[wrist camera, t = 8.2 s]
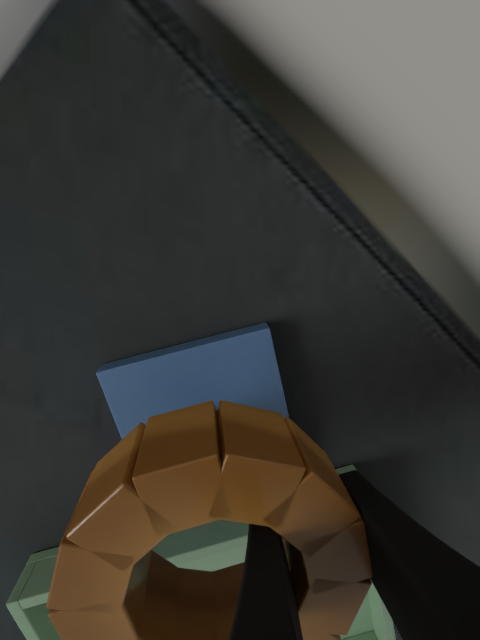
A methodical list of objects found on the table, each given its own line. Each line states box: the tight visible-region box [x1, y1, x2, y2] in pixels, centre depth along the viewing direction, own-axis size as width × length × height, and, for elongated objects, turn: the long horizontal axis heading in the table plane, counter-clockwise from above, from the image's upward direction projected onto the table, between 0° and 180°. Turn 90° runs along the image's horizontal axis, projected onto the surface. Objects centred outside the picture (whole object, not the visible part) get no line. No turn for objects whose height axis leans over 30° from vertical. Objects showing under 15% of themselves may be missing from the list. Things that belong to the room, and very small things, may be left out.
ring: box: [46, 400, 373, 640], centre depth 10 cm, size 8×8×3 cm
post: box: [96, 322, 289, 439], centre depth 15 cm, size 8×8×6 cm
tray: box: [6, 464, 396, 640], centre depth 19 cm, size 18×13×3 cm
